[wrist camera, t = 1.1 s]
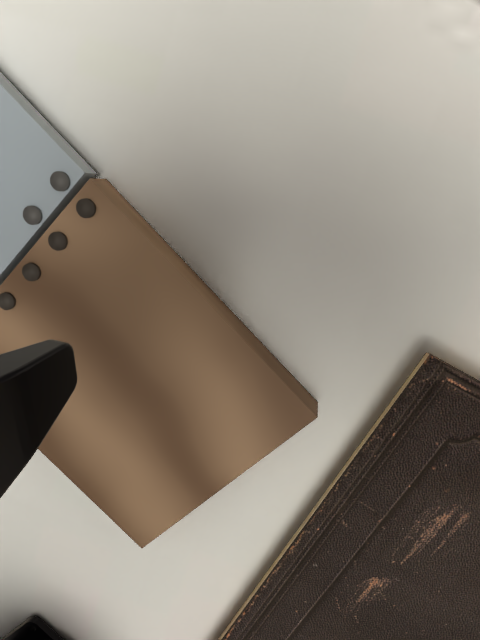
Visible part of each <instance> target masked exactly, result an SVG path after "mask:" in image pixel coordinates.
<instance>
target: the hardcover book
mask: <svg viewBox="0 0 480 640" xmlns="http://www.w3.org/2000/svg"><path fill="white" fill-rule="evenodd" d="M218 640H480V381H478V380H477V379H475V378H473V377H471V376H469V375H468V374H466V373H464V372H462V371H460V370H458V369H457V368H455V367H453V366H451V365H449V364H448V363H446V362H444V361H442V360H440V359H439V358H437V357H435V356H433V355H431V354H429V353H427V352H426V354H425V355H424V356H423V358H422V359H421V361H420V362H419V363H418V365H417V366H416V367H415V369H414V370H413V372H412V373H411V374H410V376H409V377H408V378H407V380H406V381H405V383H404V384H403V385H402V387H401V388H400V389H399V391H398V392H397V394H396V395H395V396H394V398H393V399H392V400H391V402H390V403H389V405H388V406H387V407H386V409H385V410H384V411H383V413H382V414H381V416H380V417H379V418H378V420H377V421H376V423H375V424H374V425H373V427H372V428H371V429H370V431H369V432H368V434H367V435H366V436H365V438H364V439H363V440H362V442H361V443H360V445H359V446H358V447H357V449H356V450H355V451H354V453H353V454H352V456H351V457H350V458H349V460H348V461H347V462H346V464H345V465H344V467H343V468H342V469H341V471H340V472H339V473H338V475H337V476H336V478H335V479H334V480H333V482H332V483H331V484H330V486H329V487H328V489H327V490H326V491H325V493H324V494H323V495H322V497H321V498H320V500H319V501H318V502H317V504H316V505H315V506H314V508H313V509H312V511H311V512H310V513H309V515H308V516H307V517H306V519H305V520H304V522H303V523H302V524H301V526H300V527H299V528H298V530H297V531H296V533H295V534H294V535H293V537H292V538H291V539H290V541H289V542H288V544H287V545H286V546H285V548H284V549H283V550H282V552H281V553H280V555H279V556H278V557H277V559H276V560H275V561H274V563H273V564H272V566H271V567H270V568H269V570H268V571H267V572H266V574H265V575H264V577H263V578H262V579H261V581H260V582H259V583H258V585H257V586H256V588H255V589H254V590H253V592H252V593H251V594H250V596H249V597H248V599H247V600H246V601H245V603H244V604H243V605H242V607H241V608H240V610H239V611H238V612H237V614H236V615H235V616H234V618H233V619H232V621H231V622H230V623H229V625H228V626H227V627H226V629H225V630H224V632H223V633H222V634H221V636H220V637H219V638H218Z"/></svg>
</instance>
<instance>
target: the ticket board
mask: <svg viewBox="0 0 480 640" xmlns="http://www.w3.org/2000/svg"><path fill="white" fill-rule="evenodd" d="M49 339H53V340H58V341H62V342H66V343H69V344H70V345H71V346H72V348H73V350H74V357H75V364H76V371H77V384H76V387H75V390H74V392H73V393H72V395H71V396H70V398H69V400H68V401H67V403H66V404H65V406H64V408H63V409H62V411H61V412H60V414H59V416H58V417H57V419H56V420H55V422H54V424H53V425H52V427H51V428H50V430H49V432H48V433H47V435H46V436H45V438H44V440H43V441H42V443H41V444H40V446H39V447H38V449H39V450H40V451H41V452H42V453H43V454H44V455H45V456H46V457H47V458H48V459H49V460H50V461H51V462H52V463H53V464H54V465H55V466H56V467H58V468H59V469H60V470H61V471H62V472H63V473H64V474H65V475H66V476H67V477H68V478H69V479H70V480H71V481H72V482H73V483H74V484H75V485H76V486H77V487H78V488H79V489H80V490H81V491H83V492H84V493H85V494H86V495H87V496H88V497H89V498H90V499H91V500H92V501H93V502H94V503H95V504H96V505H97V506H98V507H99V508H100V509H101V510H102V511H103V512H104V513H105V514H106V515H107V516H109V517H110V518H111V519H112V520H113V521H114V522H115V523H116V524H117V525H118V526H119V527H120V528H121V529H122V530H123V531H124V532H125V533H126V534H127V535H128V536H129V537H130V538H131V539H132V540H134V541H135V542H136V543H137V544H138V545H139V546H140V547H141V548H143V547H144V546H146V545H147V544H148V543H150V542H151V541H152V540H154V539H155V538H157V537H158V536H159V535H161V534H162V533H163V532H165V531H166V530H167V529H169V528H170V527H171V526H173V525H174V524H175V523H177V522H178V521H179V520H181V519H182V518H183V517H185V516H186V515H187V514H189V513H190V512H191V511H193V510H194V509H195V508H197V507H198V506H199V505H201V504H202V503H203V502H205V501H206V500H207V499H209V498H210V497H211V496H213V495H214V494H215V493H217V492H218V491H219V490H221V489H222V488H223V487H225V486H226V485H228V484H229V483H230V482H232V481H233V480H234V479H236V478H237V477H238V476H240V475H241V474H242V473H244V472H245V471H246V470H248V469H249V468H250V467H252V466H253V465H254V464H256V463H257V462H258V461H260V460H261V459H262V458H264V457H265V456H266V455H268V454H269V453H270V452H272V451H273V450H274V449H276V448H277V447H278V446H280V445H281V444H282V443H284V442H285V441H286V440H288V439H289V438H290V437H292V436H293V435H295V434H296V433H297V432H299V431H300V430H301V429H303V428H304V427H305V426H307V425H308V424H309V423H311V422H312V421H313V420H315V419H316V418H317V415H318V402H317V401H316V400H315V399H314V398H313V397H312V396H311V395H310V394H309V393H308V392H307V390H306V389H305V388H304V387H303V386H302V385H301V384H300V383H299V382H298V381H297V380H296V379H295V378H294V377H293V376H292V375H291V374H290V373H289V371H288V370H287V369H286V368H285V367H284V366H283V365H282V364H281V363H280V362H279V361H278V360H277V359H276V358H275V357H274V356H273V355H272V354H271V352H270V351H269V350H268V349H267V348H266V347H265V346H264V345H263V344H262V343H261V342H260V341H259V340H258V339H257V338H256V337H255V336H254V335H253V333H252V332H251V331H250V330H249V329H248V328H247V327H246V326H245V325H244V324H243V323H242V322H241V321H240V320H239V319H238V318H237V317H236V316H235V315H234V313H233V312H232V311H231V310H230V309H229V308H228V307H227V306H226V305H225V304H224V303H223V302H222V301H221V300H220V299H219V298H218V297H217V296H216V294H215V293H214V292H213V291H212V290H211V289H210V288H209V287H208V286H207V285H206V284H205V283H204V282H203V281H202V280H201V279H200V278H199V277H198V275H197V274H196V273H195V272H194V271H193V270H192V269H191V268H190V267H189V266H188V265H187V264H186V263H185V262H184V261H183V260H182V259H181V258H180V257H179V255H178V254H177V253H176V252H175V251H174V250H173V249H172V248H171V247H170V246H169V245H168V244H167V243H166V242H165V241H164V240H163V239H162V238H161V236H160V235H159V234H158V233H157V232H156V231H155V230H154V229H153V228H152V227H151V226H150V225H149V224H148V223H147V222H146V221H145V220H144V219H143V217H142V216H141V215H140V214H139V213H138V212H137V211H136V210H135V209H134V208H133V207H132V206H131V205H130V204H129V203H128V202H127V201H126V200H125V198H124V197H123V196H122V195H121V194H120V193H119V192H118V191H117V190H116V189H115V188H114V187H113V186H112V185H111V184H110V183H109V182H108V181H107V180H106V179H95V178H90V179H89V180H88V181H87V182H86V184H85V185H84V186H83V187H82V188H81V190H80V191H79V192H78V193H77V194H76V196H75V197H74V198H73V199H72V200H71V201H70V203H69V204H68V205H67V206H66V207H65V209H64V210H63V211H62V212H61V213H60V215H59V216H58V217H57V218H56V219H55V221H54V222H53V223H52V224H51V225H50V227H49V228H48V229H47V230H46V231H45V233H44V234H43V235H42V236H41V237H40V239H39V240H38V241H37V242H36V243H35V245H34V246H33V247H32V248H31V249H30V251H29V252H28V253H27V254H26V255H25V257H24V258H23V259H22V260H21V261H20V263H19V264H18V265H17V266H16V267H15V269H14V270H13V271H12V272H11V273H10V274H9V276H8V277H7V278H6V279H5V280H4V282H3V283H2V284H1V285H0V354H3V353H7V352H10V351H13V350H16V349H20V348H23V347H26V346H29V345H33V344H36V343H39V342H42V341H46V340H49Z"/></svg>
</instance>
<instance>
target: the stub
mask: <svg viewBox="0 0 480 640" xmlns="http://www.w3.org/2000/svg"><path fill="white" fill-rule="evenodd" d="M96 174H97V173H96V172H95V171H94V170H93V169H92V168H91V167H90V166H89V165H88V164H87V163H86V162H85V160H84V159H83V158H82V157H81V156H80V155H79V154H78V153H77V152H76V151H75V150H74V149H73V148H72V147H71V146H70V145H69V144H68V143H67V141H66V140H65V139H64V138H63V137H62V136H61V135H60V134H59V133H58V132H57V131H56V130H55V129H54V128H53V127H52V126H51V125H50V124H49V123H48V121H47V120H46V119H45V118H44V117H43V116H42V115H41V114H40V113H39V112H38V111H37V110H36V109H35V108H34V107H33V106H32V105H31V104H30V103H29V101H28V100H27V99H26V98H25V97H24V96H23V95H22V94H21V93H20V92H19V91H18V90H17V89H16V88H15V87H14V86H13V85H12V84H11V82H10V81H9V80H8V79H7V78H6V77H5V76H4V75H3V74H2V73H1V72H0V285H1V284H2V283H3V282H4V280H5V279H6V278H7V277H8V276H9V274H10V273H11V272H12V271H13V270H14V269H15V267H16V266H17V265H18V264H19V263H20V261H21V260H22V259H23V258H24V257H25V255H26V254H27V253H28V252H29V251H30V249H31V248H32V247H33V246H34V245H35V243H36V242H37V241H38V240H39V239H40V237H41V236H42V235H43V234H44V233H45V231H46V230H47V229H48V228H49V227H50V225H51V224H52V223H53V222H54V221H55V219H56V218H57V217H58V216H59V215H60V213H61V212H62V211H63V210H64V209H65V207H66V206H67V205H68V204H69V203H70V201H71V200H72V199H73V198H74V197H75V196H76V194H77V193H78V192H79V191H80V190H81V188H82V187H83V186H84V185H85V184H86V182H87V181H88V180H89V179H90V178H94V176H95V175H96Z"/></svg>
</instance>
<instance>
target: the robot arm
mask: <svg viewBox="0 0 480 640" xmlns="http://www.w3.org/2000/svg"><path fill="white" fill-rule="evenodd" d="M76 384H77V371H76V364H75V357H74V350H73V348H72V346H71V345H70V344H69V343H66V342H62V341H58V340H53V339H49V340H46V341H42V342H39V343H36V344H33V345H29V346H26V347H23V348H20V349H16V350H13V351H10V352H7V353H3V354H0V498H1V497H2V495H3V494H4V493H5V492H6V490H7V489H8V488H9V486H10V485H11V484H12V482H13V481H14V480H15V479H16V477H17V476H18V475H19V473H20V472H21V471H22V470H23V468H24V467H25V466H26V464H27V463H28V462H29V460H30V459H31V458H32V456H33V455H34V453H35V452H36V450H37V449H38V447H39V446H40V444H41V443H42V441H43V440H44V438H45V436H46V435H47V433H48V432H49V430H50V428H51V427H52V425H53V424H54V422H55V420H56V419H57V417H58V416H59V414H60V412H61V411H62V409H63V408H64V406H65V404H66V403H67V401H68V400H69V398H70V396H71V395H72V393H73V392H74V390H75V387H76ZM1 640H63V639H62V638H61V637H60V636H59V635H58V634H57V633H56V632H55V631H53V630H52V629H51V628H50V627H49V626H48V625H47V624H46V623H45V622H44V621H42V620H41V619H40V618H39V617H36V616H31V617H30V618H28V619H27V620H26V621H24V622H23V623H22V624H20V625H19V626H18V627H16V628H15V629H14V630H13V631H11V632H10V633H9V634H7V635H6V636H5V637H3V638H2V639H1Z"/></svg>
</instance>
